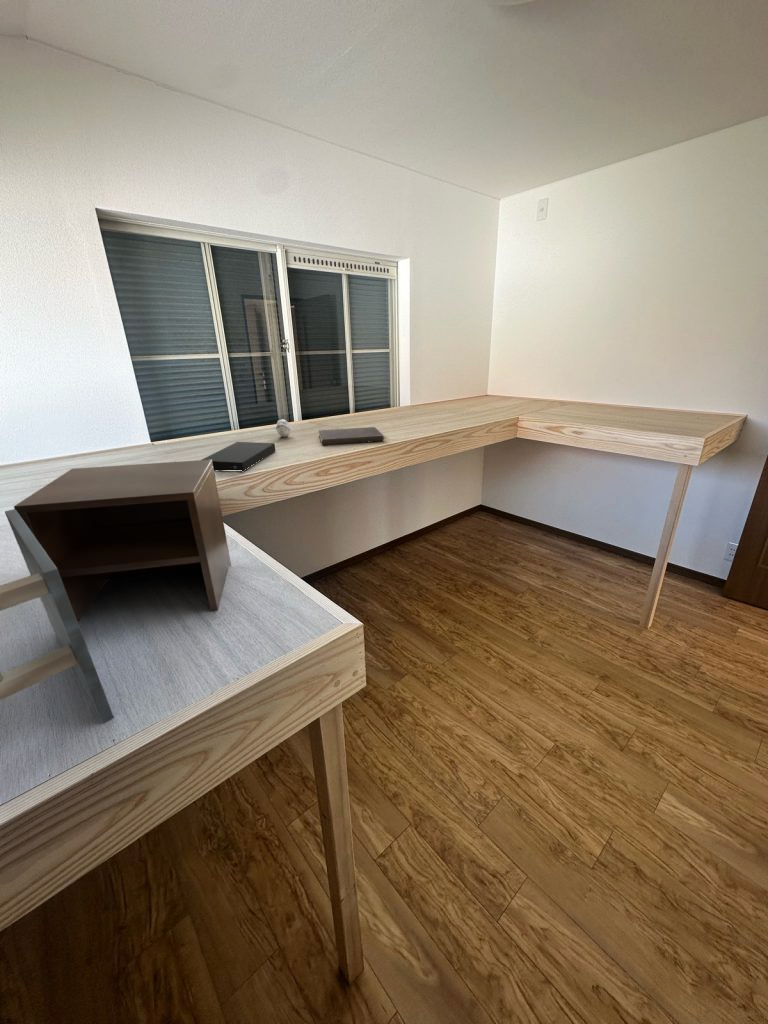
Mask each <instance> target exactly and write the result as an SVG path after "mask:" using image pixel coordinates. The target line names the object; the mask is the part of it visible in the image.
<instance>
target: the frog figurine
mask: <svg viewBox="0 0 768 1024" xmlns="http://www.w3.org/2000/svg"><path fill="white" fill-rule="evenodd" d="M275 431H276V432H277V434H278V435H279V436H280V437H283V438H285V437H288V436H290V434H291V431H292V426H291V423H290V422H288V420H285V419H284V418H282V419H280V420H277V422H276V424H275Z"/></svg>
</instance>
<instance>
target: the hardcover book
mask: <svg viewBox="0 0 768 1024" xmlns="http://www.w3.org/2000/svg"><path fill="white" fill-rule="evenodd" d="M318 434H319V435H318V437H319V440H320V443H321V446H322V445H323V446H333V445H332V444H338V445H347V444H346V443H353V444H356V443H355V442H368V441H383V440H384V439H385V437H384V434H382V432H381V431H380V430H379V429H378V428H377V427H375V426H370V427H369V426H368V427H367V426H366V427H353V428H352V427H350V428H335V429H332V428H331V429H318ZM383 442H384V441H383ZM368 443H369V442H368Z"/></svg>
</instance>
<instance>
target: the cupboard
mask: <svg viewBox="0 0 768 1024" xmlns="http://www.w3.org/2000/svg"><path fill="white" fill-rule="evenodd" d="M13 509H16V511H17V512H18V513H19V515H20V516H21V518H22V519H23V521H24V522H25V523H26V525H27V526H28V528H29V529H30V531H31V532H32V533H33V535H34V536H35V538H36V539H37V540H38V542H39V543H40V545H41V546H42V548H43V549H44V550H45V552H46V553H47V555H48V556H49V558H50V559H51V560H52V562H53V563H54V565H55V566H56V568H57V569H58V572H59V574H60V577H61V580H62V582H63V585H64V588H65V590H66V593H67V595H68V598H69V601H70V603H71V606H72V609H73V611H74V614H75V616H76V619H77V622H78V623H79V621H80V619H81V618H82V616H83V615H84V614H85V612H86V611H87V609H88V608H89V606H90V605H91V604H92V603H93V601H94V600H95V598H96V597H97V595H98V594H99V593H100V591H101V590H102V588H103V587H104V586H105V584H106V583H107V582H109V581H115V580H125V579H134V578H142V577H151V576H161V575H170V574H177V573H186V572H187V573H188V572H196V571H201V572H202V576H203V582H204V586H205V591H206V596H207V600H208V605H209V610H210V612H218V611H219V609H220V605H221V600H222V597H223V592H224V587H225V585H226V579H227V575H228V571H229V568H230V567H232V561H231V556H230V551H229V550H230V549H229V545H228V540H227V535H226V529H225V523H224V518H223V512H222V507H221V501H220V497H219V491H218V486H217V480H216V474H215V471H214V468H213V463H212V460H202V459H197V460H185V461H184V460H183V461H168V462H153V463H137V464H123V465H108V466H93V467H92V466H91V467H77V468H71V469H69V470H68V471H66V472H65V473H63V474H62V475H60V476H58V477H56V478H55V479H53V480H52V481H50V482H49V483H47V484H46V485H45V486H43V487H41V488H40V489H39V490H36V491H35V492H34V493H32V494H31V495H29V496H27V497H26V498H24V499H23V500H21V501H19V502H18V503H16V504H14V506H13Z"/></svg>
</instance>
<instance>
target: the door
mask: <svg viewBox="0 0 768 1024" xmlns="http://www.w3.org/2000/svg"><path fill="white" fill-rule="evenodd" d="M4 514H5V516H6V518H7V521H8V524H9V526H10V528H11V531H12V533H13V536H14V538H15V540H16V543H17V545H18V548H19V550H20V553H21V555H22V557H23V559H24V560H23V561H24V562H25V564H26V567H27V569H28V572H29V574H30V575H28V576H25V577H22V578H19V579H16V580H12V581H10V582H6V583H3V584H0V612H1V611H4V610H7V609H10V608H13V607H15V606H18V605H21V604H23V603H26V602H29V601H32V600H35V599H38V598H40V601H41V603H42V606H43V608H44V611H45V613H46V616H47V617H48V620H49V623H50V625H51V628H52V630H53V632H54V635H55V637H56V639H57V641H58V643H59V645H60V647H59V648H57V649H54V650H52V651H50V652H47V653H45V654H42V655H40V656H37V657H36V658H33V659H32V660H29V661H26V662H24V663H22V664H20V665H18V666H16V667H13V668H10V669H8V670H6V671H3V672H2V673H1V671H0V701H2V700H4V699H6V698H8V697H10V696H12V695H15V694H16V693H19V692H21V691H23V690H25V689H27V688H29V687H32V686H33V685H36V684H38V683H40V682H42V681H44V680H47V679H48V678H49V679H50V677H53V676H54V675H57V674H60V673H61V672H64V671H66V670H67V669H70V668H72V669H73V671H74V673H75V674H76V676H77V678H78V680H79V681H80V684H81V685H82V687H83V689H84V691H85V692H86V695H87V697H88V699H89V700H90V702H91V703H92V706H93V707H94V709H95V712H96V713H97V715H98V717H99V718H100V721H101V722H102V724H103V725H105V724H106V723H107V722H109V721H112V720H113V719H114V718H115V716H114V714H113V712H112V709H111V705H110V704H109V701H108V698H107V695H106V693H105V690H104V687H103V685H102V683H101V681H100V677H99V674H98V671H97V669H96V667H95V664H94V661H93V659H92V656H91V653H90V650H89V648H88V646H87V643H86V640H85V638H84V635H83V632H82V629H81V627H80V625H79V621H78V622H77V619H76V616H75V614H74V611H73V609H72V606H71V603H70V601H69V598H68V595H67V593H66V590H65V588H64V585H63V582H62V580H61V577H60V574H59V572H58V569H57V568H56V566H55V565H54V563H53V562H52V560H51V559H50V558H49V556H48V555H47V553H46V552H45V550H44V549H43V548H42V546H41V545H40V543H39V542H38V540H37V539H36V538H35V536H34V535H33V533H32V532H31V531H30V529H29V528H28V526H27V525H26V523H25V522H24V521H23V519H22V518H21V516H20V515H19V513H18V512H17V511H16V509H14V508H13V509H9V510H5V511H4Z"/></svg>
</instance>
